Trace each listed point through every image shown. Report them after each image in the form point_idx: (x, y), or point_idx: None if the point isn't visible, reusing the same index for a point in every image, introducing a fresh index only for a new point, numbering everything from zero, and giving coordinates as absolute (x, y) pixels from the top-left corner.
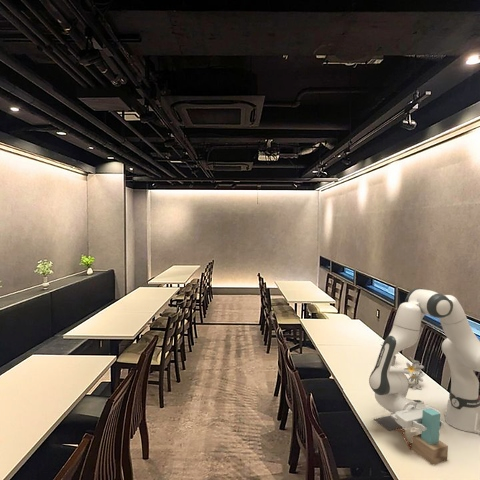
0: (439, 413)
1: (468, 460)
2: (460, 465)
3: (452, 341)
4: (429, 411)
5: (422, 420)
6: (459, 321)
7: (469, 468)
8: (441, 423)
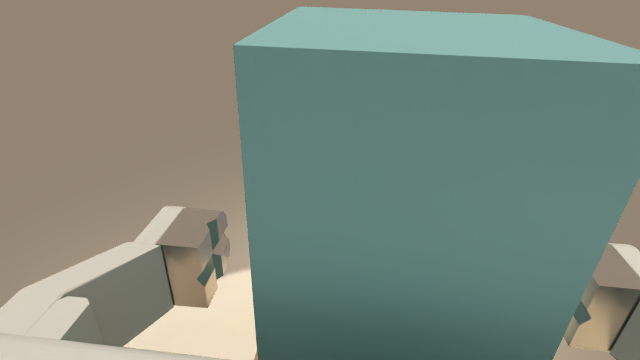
0: (312, 9)
1: (142, 331)
2: (249, 328)
3: None
4: (472, 30)
5: (547, 349)
6: None
7: (234, 294)
8: (219, 214)
